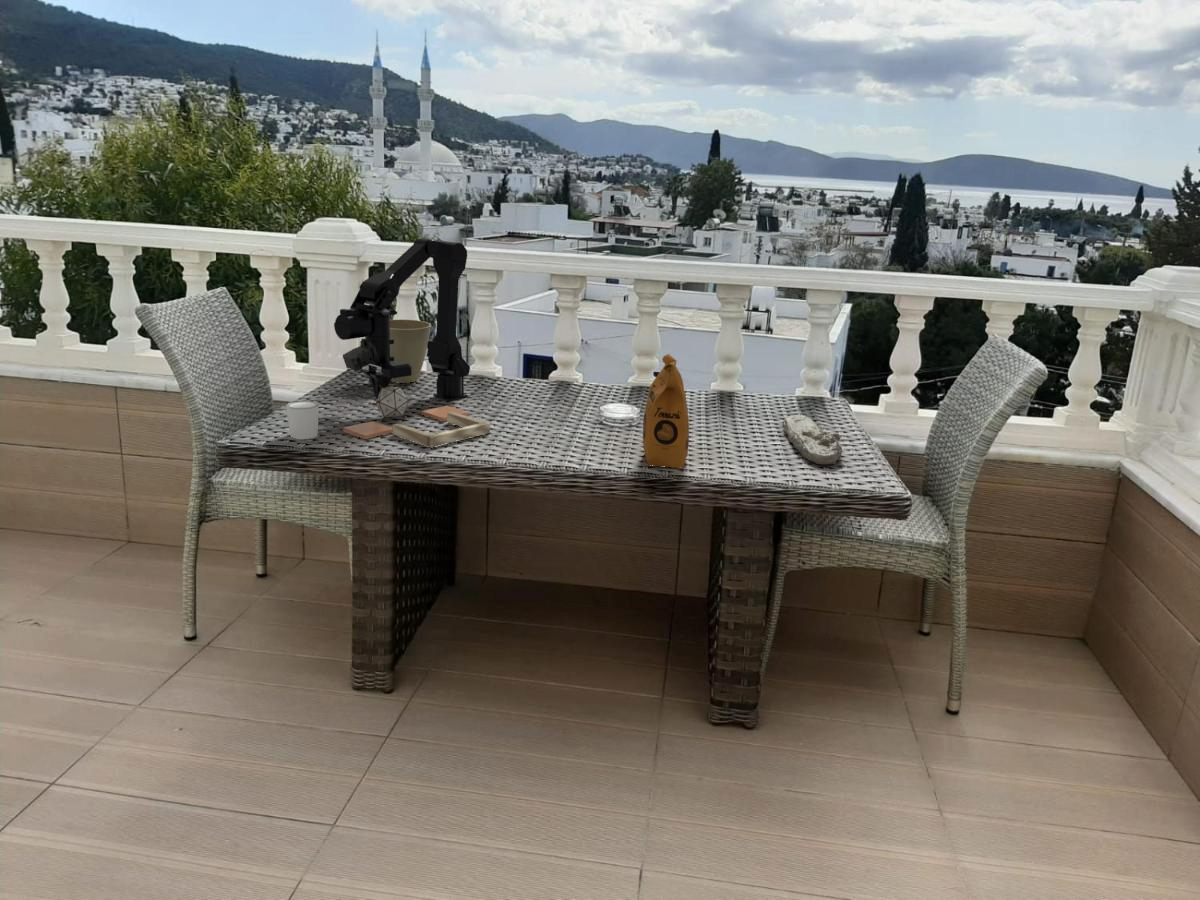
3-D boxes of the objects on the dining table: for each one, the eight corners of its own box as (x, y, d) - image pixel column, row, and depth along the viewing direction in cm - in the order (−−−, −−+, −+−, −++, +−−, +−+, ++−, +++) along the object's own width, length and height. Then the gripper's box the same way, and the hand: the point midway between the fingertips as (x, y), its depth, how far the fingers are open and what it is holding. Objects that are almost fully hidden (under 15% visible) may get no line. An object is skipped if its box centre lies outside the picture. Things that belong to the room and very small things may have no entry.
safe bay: (452, 422, 212) (452, 411, 211) (489, 433, 204) (490, 423, 203) (393, 435, 199) (393, 424, 199) (431, 448, 191) (431, 437, 191)
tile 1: (373, 425, 206) (373, 421, 206) (394, 432, 201) (394, 428, 201) (343, 431, 200) (343, 427, 200) (365, 439, 195) (364, 435, 195)
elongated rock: (813, 430, 226) (773, 430, 226) (814, 410, 224) (774, 410, 224) (851, 467, 192) (804, 467, 192) (852, 443, 190) (806, 443, 190)
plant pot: (367, 384, 243) (365, 326, 239) (389, 373, 257) (387, 317, 253) (420, 389, 241) (419, 330, 236) (438, 377, 255) (438, 321, 250)
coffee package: (639, 467, 186) (645, 363, 179) (641, 450, 198) (648, 351, 191) (687, 471, 185) (695, 366, 178) (687, 453, 197) (694, 354, 190)
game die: (397, 435, 212) (403, 409, 205) (364, 420, 212) (368, 393, 204) (414, 409, 218) (419, 383, 211) (381, 395, 218) (386, 368, 210)
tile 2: (446, 409, 222) (446, 405, 222) (468, 416, 217) (468, 412, 217) (421, 414, 216) (421, 411, 216) (443, 421, 212) (443, 417, 211)
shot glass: (327, 433, 198) (325, 403, 196) (307, 441, 192) (305, 410, 190) (300, 429, 200) (299, 399, 198) (280, 437, 194) (278, 406, 192)
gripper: (324, 331, 210) (327, 396, 214) (372, 345, 198) (373, 413, 203) (365, 327, 218) (366, 389, 222) (413, 340, 206) (413, 405, 211)
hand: (378, 399), depth 214 cm, fingers closed
